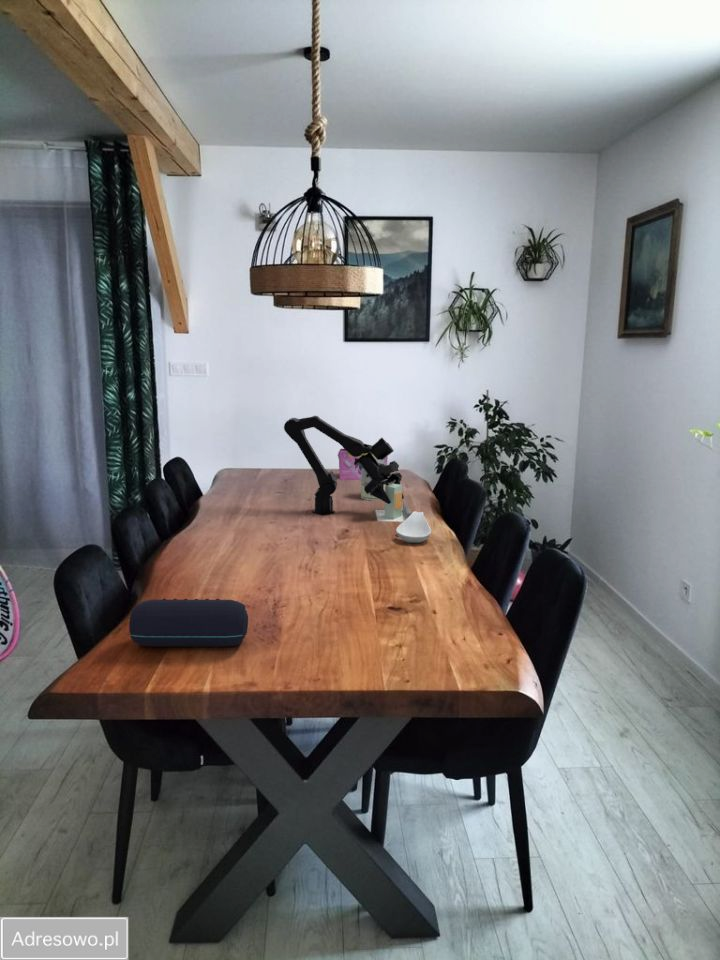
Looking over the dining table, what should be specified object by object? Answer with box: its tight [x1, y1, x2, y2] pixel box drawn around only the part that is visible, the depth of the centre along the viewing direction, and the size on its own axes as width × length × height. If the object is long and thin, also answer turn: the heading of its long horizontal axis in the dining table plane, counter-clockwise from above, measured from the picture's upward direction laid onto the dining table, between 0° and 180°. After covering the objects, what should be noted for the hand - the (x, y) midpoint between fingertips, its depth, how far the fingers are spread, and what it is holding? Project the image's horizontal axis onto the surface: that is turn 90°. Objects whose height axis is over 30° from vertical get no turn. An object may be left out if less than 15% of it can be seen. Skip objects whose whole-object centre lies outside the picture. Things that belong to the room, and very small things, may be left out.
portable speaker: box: [128, 598, 249, 648], centre depth 145 cm, size 25×10×10 cm, turn 92°
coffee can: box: [360, 463, 386, 501], centre depth 279 cm, size 10×10×14 cm
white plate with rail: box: [375, 502, 412, 523], centre depth 250 cm, size 16×12×4 cm
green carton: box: [384, 484, 403, 519], centre depth 247 cm, size 6×4×12 cm
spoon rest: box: [395, 510, 432, 544], centre depth 228 cm, size 24×12×7 cm, turn 169°
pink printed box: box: [337, 448, 389, 480], centre depth 318 cm, size 24×8×14 cm, turn 90°
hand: (396, 500), depth 246 cm, fingers open, 9 cm apart
